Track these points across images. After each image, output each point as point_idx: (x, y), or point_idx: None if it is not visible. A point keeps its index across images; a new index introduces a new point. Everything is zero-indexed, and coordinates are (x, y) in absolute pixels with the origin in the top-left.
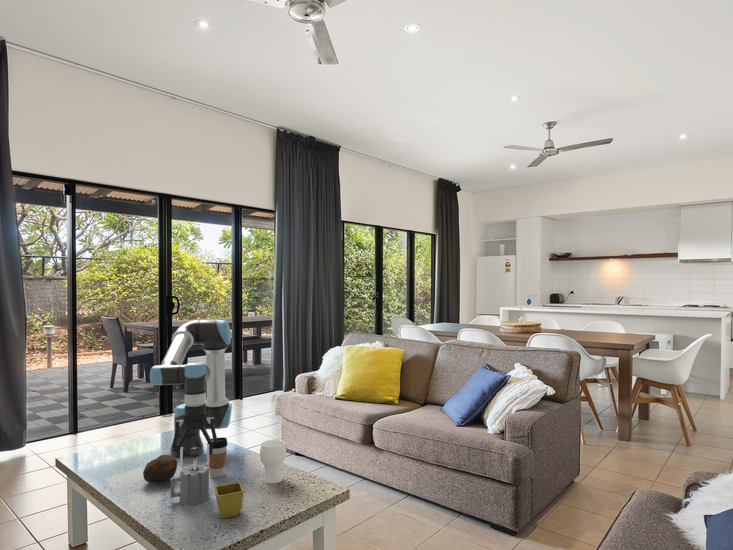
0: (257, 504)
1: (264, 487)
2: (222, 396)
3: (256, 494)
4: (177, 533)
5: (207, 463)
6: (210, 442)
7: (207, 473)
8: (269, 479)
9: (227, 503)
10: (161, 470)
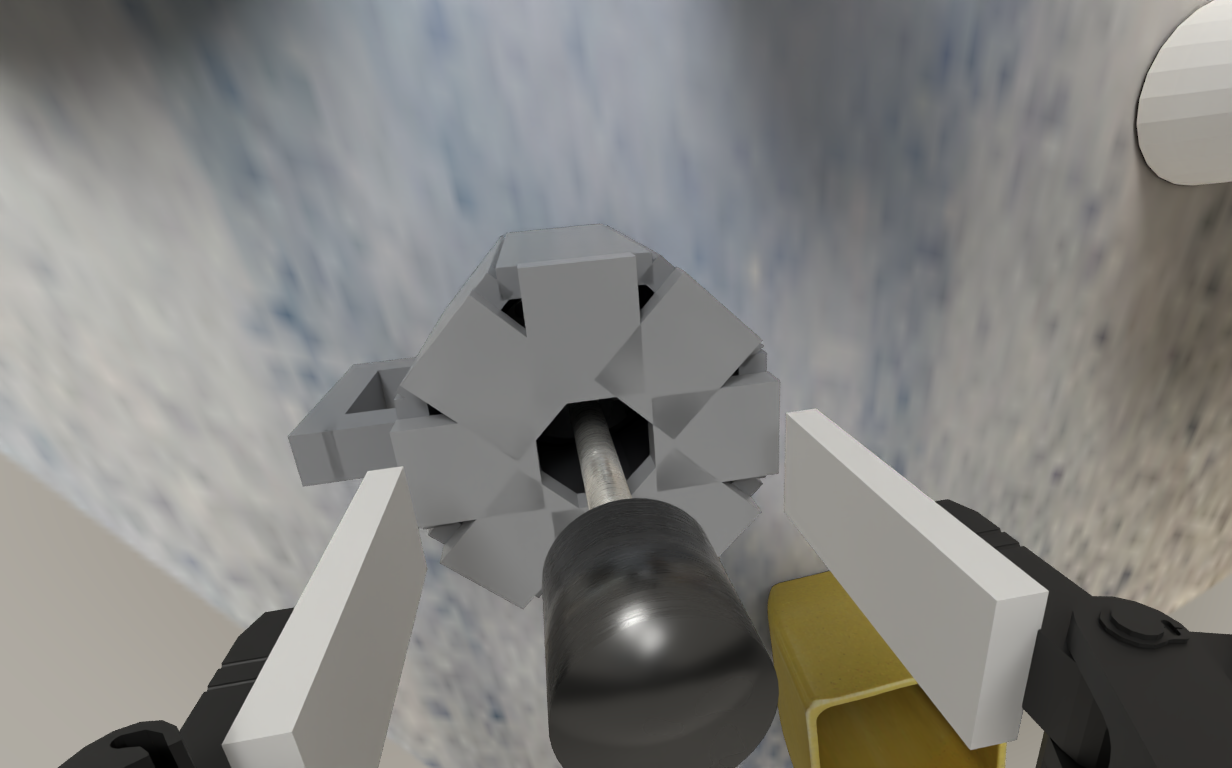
0: (988, 509)
1: (1102, 243)
2: None
3: (1017, 361)
4: (544, 764)
5: (795, 520)
6: None
7: (748, 493)
8: (1199, 174)
9: (852, 757)
10: None
